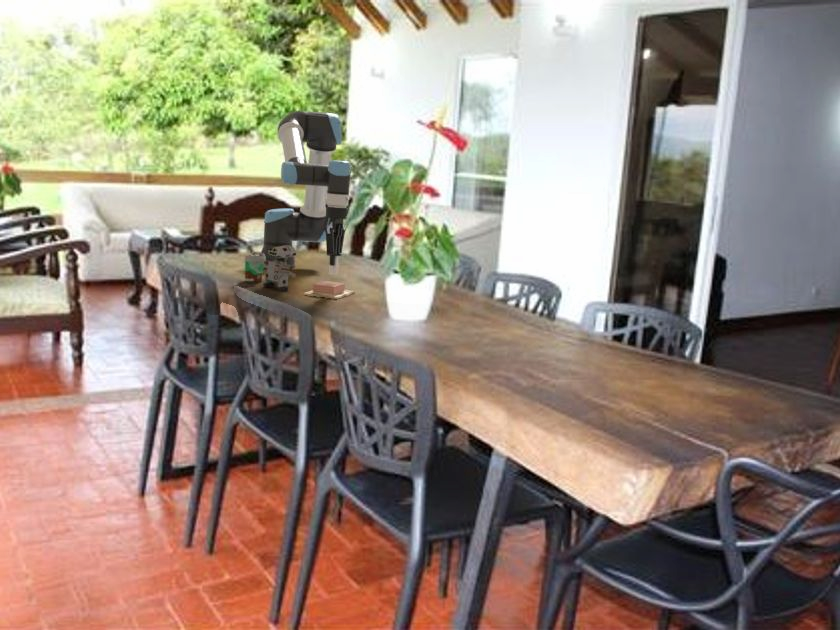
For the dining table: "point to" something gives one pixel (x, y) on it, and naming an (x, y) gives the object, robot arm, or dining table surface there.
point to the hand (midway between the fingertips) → (332, 274)
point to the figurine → (279, 267)
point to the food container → (254, 267)
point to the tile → (328, 288)
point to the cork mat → (345, 293)
